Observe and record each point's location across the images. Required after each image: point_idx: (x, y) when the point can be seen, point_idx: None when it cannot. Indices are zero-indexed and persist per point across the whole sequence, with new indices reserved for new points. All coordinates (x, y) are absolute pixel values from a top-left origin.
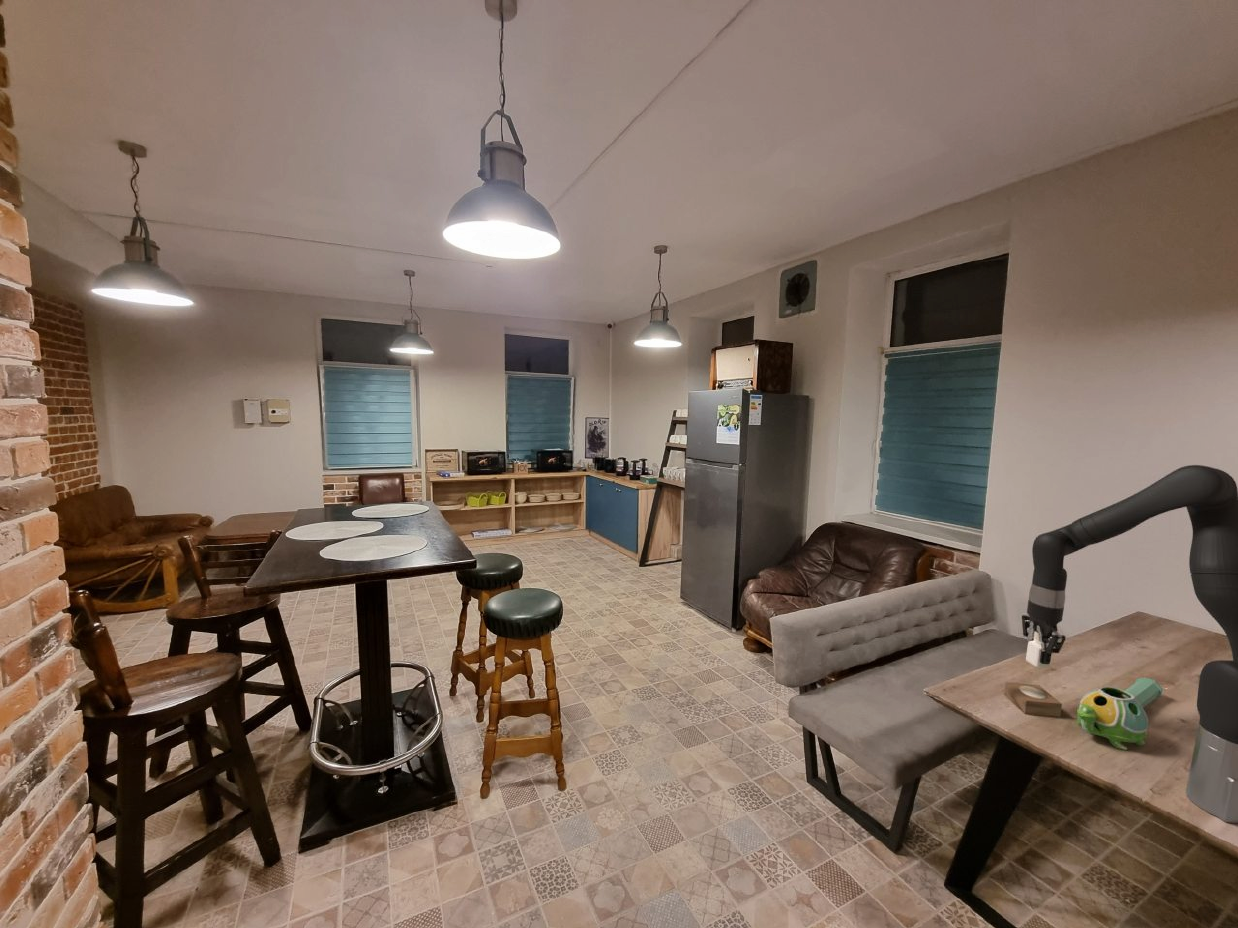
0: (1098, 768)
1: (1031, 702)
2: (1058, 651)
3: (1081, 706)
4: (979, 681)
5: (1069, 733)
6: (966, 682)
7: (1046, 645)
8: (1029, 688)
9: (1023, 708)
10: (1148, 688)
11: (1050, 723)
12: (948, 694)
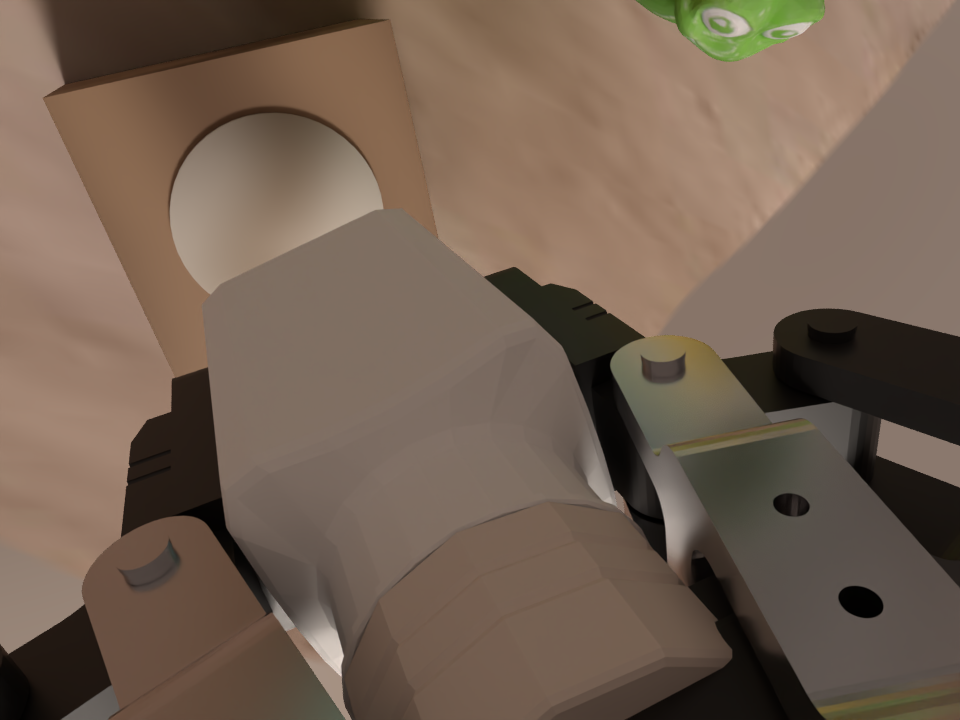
0: (832, 57)
1: None
2: (882, 336)
3: (755, 27)
4: (36, 481)
5: (562, 56)
6: None
7: (575, 466)
8: (219, 232)
9: None
10: None
11: (480, 138)
12: None
